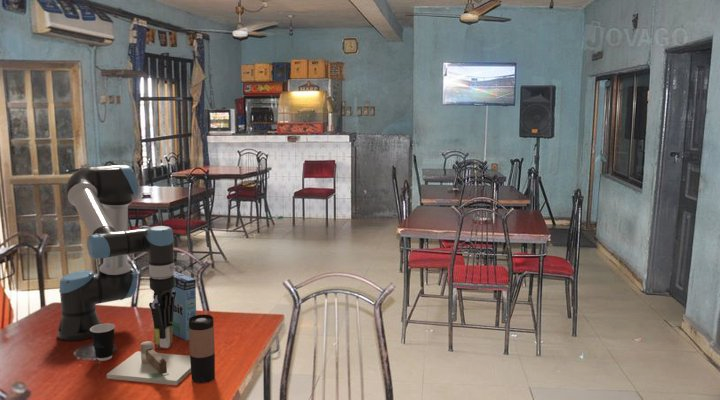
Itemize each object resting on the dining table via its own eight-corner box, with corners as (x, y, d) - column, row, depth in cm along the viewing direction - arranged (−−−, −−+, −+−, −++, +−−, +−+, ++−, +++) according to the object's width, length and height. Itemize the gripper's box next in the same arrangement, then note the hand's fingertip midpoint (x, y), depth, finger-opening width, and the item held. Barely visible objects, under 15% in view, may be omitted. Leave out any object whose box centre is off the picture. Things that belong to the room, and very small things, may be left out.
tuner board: (105, 379, 187) (105, 374, 187) (137, 355, 205) (137, 350, 205) (176, 386, 183) (175, 380, 183) (202, 361, 201) (202, 356, 201)
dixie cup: (116, 351, 208) (114, 321, 207) (117, 360, 201) (115, 329, 200) (91, 355, 205) (89, 325, 203) (92, 364, 198) (90, 333, 196)
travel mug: (193, 373, 192) (191, 314, 189) (217, 372, 192) (215, 313, 189) (188, 384, 184) (186, 323, 181) (213, 383, 185) (211, 322, 182)
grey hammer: (139, 360, 197) (138, 343, 196) (151, 357, 200) (150, 340, 199) (157, 378, 184) (156, 360, 183) (170, 375, 186) (169, 357, 185)
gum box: (159, 327, 231) (157, 271, 227) (171, 324, 234) (169, 268, 231) (186, 341, 218) (183, 281, 214) (198, 337, 221) (196, 278, 218)
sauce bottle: (167, 350, 209) (164, 296, 206) (151, 349, 211) (148, 295, 208) (176, 343, 216) (174, 291, 213) (160, 342, 217) (158, 289, 214)
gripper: (162, 282, 178) (165, 356, 182) (182, 270, 191) (185, 339, 195) (139, 281, 180) (143, 354, 184) (161, 269, 192) (164, 337, 196)
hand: (165, 346), depth 189 cm, fingers closed
